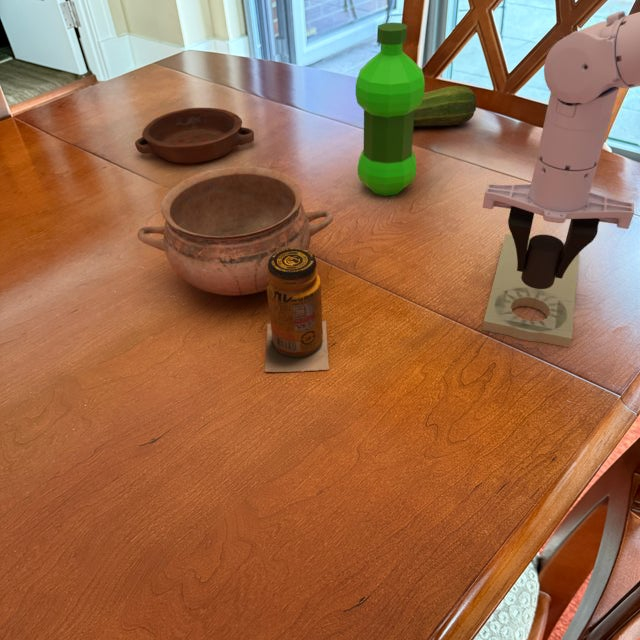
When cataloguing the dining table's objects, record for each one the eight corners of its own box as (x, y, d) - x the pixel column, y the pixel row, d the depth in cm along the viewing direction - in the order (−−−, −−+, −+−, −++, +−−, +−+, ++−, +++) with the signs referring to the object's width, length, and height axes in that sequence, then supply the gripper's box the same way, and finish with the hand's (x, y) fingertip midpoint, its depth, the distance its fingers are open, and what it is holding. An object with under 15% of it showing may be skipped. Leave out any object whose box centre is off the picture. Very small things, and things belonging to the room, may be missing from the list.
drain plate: (569, 349, 69) (572, 340, 68) (481, 331, 72) (483, 322, 71) (577, 254, 84) (579, 245, 83) (503, 242, 86) (505, 233, 85)
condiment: (325, 322, 75) (322, 240, 67) (329, 370, 68) (325, 286, 60) (267, 325, 75) (257, 243, 67) (265, 373, 68) (253, 290, 60)
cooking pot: (145, 333, 74) (120, 250, 66) (158, 248, 89) (138, 172, 81) (344, 312, 76) (343, 229, 68) (325, 232, 90) (323, 156, 82)
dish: (140, 137, 119) (134, 112, 116) (250, 125, 122) (248, 101, 118) (135, 177, 106) (128, 150, 103) (259, 163, 109) (256, 137, 105)
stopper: (560, 282, 68) (571, 245, 65) (538, 293, 67) (547, 256, 64) (536, 267, 71) (545, 230, 67) (514, 277, 69) (522, 241, 66)
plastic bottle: (416, 173, 103) (428, 16, 87) (416, 204, 95) (429, 37, 79) (358, 172, 104) (359, 16, 88) (353, 203, 97) (353, 38, 80)
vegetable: (480, 81, 112) (374, 89, 112) (480, 122, 114) (376, 130, 113) (469, 87, 119) (369, 95, 119) (470, 125, 121) (371, 132, 121)
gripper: (486, 166, 58) (469, 278, 67) (649, 186, 54) (608, 303, 63) (496, 136, 63) (479, 244, 72) (646, 153, 59) (608, 265, 68)
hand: (539, 269), depth 68 cm, fingers closed on stopper, 3 cm apart
